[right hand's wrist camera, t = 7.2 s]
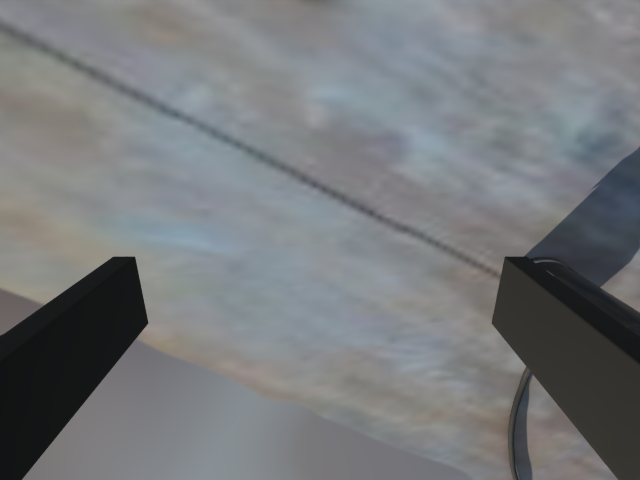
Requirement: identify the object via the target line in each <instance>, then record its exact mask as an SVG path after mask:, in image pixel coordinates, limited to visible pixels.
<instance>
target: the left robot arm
mask: <svg viewBox="0 0 640 480" xmlns="http://www.w3.org/2000/svg"><path fill="white" fill-rule="evenodd" d="M532 261H533V262H535V263H536V264H537V265H539V266H540V267H542V268H543V269H545V270H546V271H547V272H549V273H550V274H552V275H553V276H554V277H556V278H557V279H559V280H560V281H562V282H563V283H564V284H566V285H567V286H569V287H570V288H571V289H573V290H574V291H576V292H577V293H579V294H580V295H581V296H583V297H584V298H586V299H587V300H589V301H590V302H591V303H593V304H594V305H596V306H597V307H598V308H600V309H601V310H603V311H604V312H606V313H607V314H608V315H610V316H611V317H613V318H614V319H615V320H617V321H618V322H620V323H621V324H623V325H624V326H625V327H627V328H628V329H630V330H632V331H634V332H636V333H638V334H640V313H639V312H638V311H636V310H635V309H633V308H632V307H630V306H628V305H627V304H625V303H624V302H622V301H620V300H619V299H617V298H616V297H614V296H613V295H611V294H609V293H608V292H606V291H605V290H603V289H601V288H600V287H598V286H597V285H595V284H594V283H592V282H590V281H589V280H587V279H586V278H584V277H582V276H581V275H579V274H578V273H577V272H575V271H574V270H572V269H571V268H569V267H568V266H567V265H565V264H563V263H562V262H560V261H558V260H555V259H551V258H536V259H532ZM530 374H531V371H530V370H529V369H528V367H527V366H526V369H525V371H524V373H523V376H522V379H521V381H520V385H519V388H518V390H517V393H516V396H515V399H514V402H513V406H512V410H511V415H510V421H509V430H508V445H509V459H510V467H511V472H512V476H513V479H514V480H519V479H518V476H517V472H516V467H515V454H514V428H515V421H516V416H517V411H518V408H519V404H520V401H521V398H522V395H523V392H524V389H525V386H526V383H527V381H528V378H529V375H530Z"/></svg>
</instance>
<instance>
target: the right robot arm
mask: <svg viewBox="0 0 640 480" xmlns="http://www.w3.org/2000/svg"><path fill="white" fill-rule="evenodd" d="M147 324H148V319H147V314H146V309H145V304H144V299H143V294H142V289H141V284H140V279H139V274H138V269H137V264H136V259H135V257H112V258H111V259H110V260H108V261H107V262H105V263H104V264H103V265H101V266H100V267H98V268H97V269H95V270H94V271H93V272H91V273H90V274H88V275H87V276H86V277H84V278H83V279H81V280H80V281H78V282H77V283H76V284H74V285H73V286H71V287H70V288H69V289H67V290H66V291H64V292H63V293H61V294H60V295H59V296H57V297H56V298H54V299H53V300H51V301H50V302H49V303H47V304H46V305H44V306H43V307H42V308H40V309H39V310H37V311H36V312H35V313H33V314H32V315H30V316H29V317H27V318H26V319H25V320H23V321H22V322H20V323H19V324H18V325H16V326H15V327H13V328H12V329H11V330H9V331H8V332H6V333H5V334H3V335H1V336H0V480H22V479H23V477H24V476H25V475H26V474H27V473H28V471H29V470H30V469H31V468H32V466H33V465H34V464H35V463H36V461H37V460H38V459H39V458H40V456H41V455H42V454H43V453H44V452H45V450H46V449H47V448H48V447H49V445H50V444H51V443H52V442H53V440H54V439H55V438H56V437H57V435H58V434H59V433H60V432H61V431H62V429H63V428H64V427H65V426H66V424H67V423H68V422H69V421H70V419H71V418H72V417H73V416H74V414H75V413H76V412H77V411H78V410H79V408H80V407H81V406H82V405H83V403H84V402H85V401H86V400H87V398H88V397H89V396H90V395H91V393H92V392H93V391H94V390H95V388H96V387H97V386H98V385H99V384H100V382H101V381H102V380H103V379H104V377H105V376H106V375H107V374H108V372H109V371H110V370H111V369H112V367H113V366H114V365H115V364H116V363H117V361H118V360H119V359H120V358H121V356H122V355H123V354H124V353H125V351H126V350H127V349H128V348H129V346H130V345H131V344H132V343H133V341H134V340H135V339H136V338H137V337H138V335H139V334H140V333H141V332H142V330H143V329H144V328H145V327H146V325H147ZM492 324H493V325H494V327H495V328H496V329H497V330H498V332H499V333H500V334H501V335H502V337H503V338H504V339H505V340H506V342H507V343H508V344H509V345H510V346H511V348H512V349H513V350H514V351H515V353H516V354H517V355H518V356H519V358H520V359H521V360H522V361H523V363H524V364H525V365H526V366H527V367H528V369H529V370H530V371H531V372H532V374H533V375H534V376H535V377H536V379H537V380H538V381H539V382H540V384H541V385H542V386H543V387H544V388H545V390H546V391H547V392H548V393H549V395H550V396H551V397H552V398H553V400H554V401H555V402H556V403H557V405H558V406H559V407H560V408H561V410H562V411H563V412H564V413H565V414H566V416H567V417H568V418H569V419H570V421H571V422H572V423H573V424H574V426H575V427H576V428H577V429H578V431H579V432H580V433H581V434H582V435H583V437H584V438H585V439H586V440H587V442H588V443H589V444H590V445H591V447H592V448H593V449H594V450H595V452H596V453H597V454H598V455H599V456H600V458H601V459H602V460H603V461H604V463H605V464H606V465H607V466H608V468H609V469H610V470H611V471H612V473H613V474H614V475H615V476H616V477H617V479H618V480H640V334H638V333H636V332H634V331H632V330H630V329H628V328H627V327H625V326H624V325H623V324H621V323H620V322H618V321H617V320H615V319H614V318H613V317H611V316H610V315H608V314H607V313H606V312H604V311H603V310H601V309H600V308H598V307H597V306H596V305H594V304H593V303H591V302H590V301H589V300H587V299H586V298H584V297H583V296H581V295H580V294H579V293H577V292H576V291H574V290H573V289H571V288H570V287H569V286H567V285H566V284H564V283H563V282H562V281H560V280H559V279H557V278H556V277H554V276H553V275H552V274H550V273H549V272H547V271H546V270H545V269H543V268H542V267H540V266H539V265H537V264H536V263H535V262H533V261H532V260H530V259H529V258H528V257H505V259H504V264H503V269H502V274H501V279H500V284H499V289H498V294H497V299H496V304H495V309H494V314H493V319H492Z"/></svg>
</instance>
